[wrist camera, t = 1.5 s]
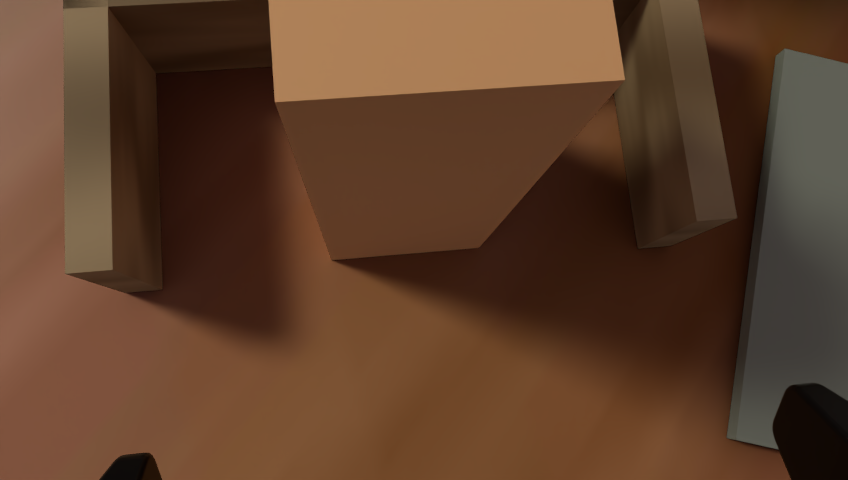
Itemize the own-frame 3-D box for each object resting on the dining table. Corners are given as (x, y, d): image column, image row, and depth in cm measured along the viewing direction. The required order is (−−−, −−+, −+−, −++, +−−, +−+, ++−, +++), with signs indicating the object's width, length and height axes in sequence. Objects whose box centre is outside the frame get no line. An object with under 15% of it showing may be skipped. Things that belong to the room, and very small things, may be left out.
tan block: (479, 247, 24) (624, 80, 10) (331, 260, 23) (274, 102, 10) (463, 108, 25) (578, -220, 11) (320, 118, 24) (255, -212, 11)
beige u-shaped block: (671, 245, 24) (737, 217, 20) (124, 292, 23) (64, 273, 18) (633, 14, 26) (687, -59, 21) (119, 43, 24) (63, -31, 20)
